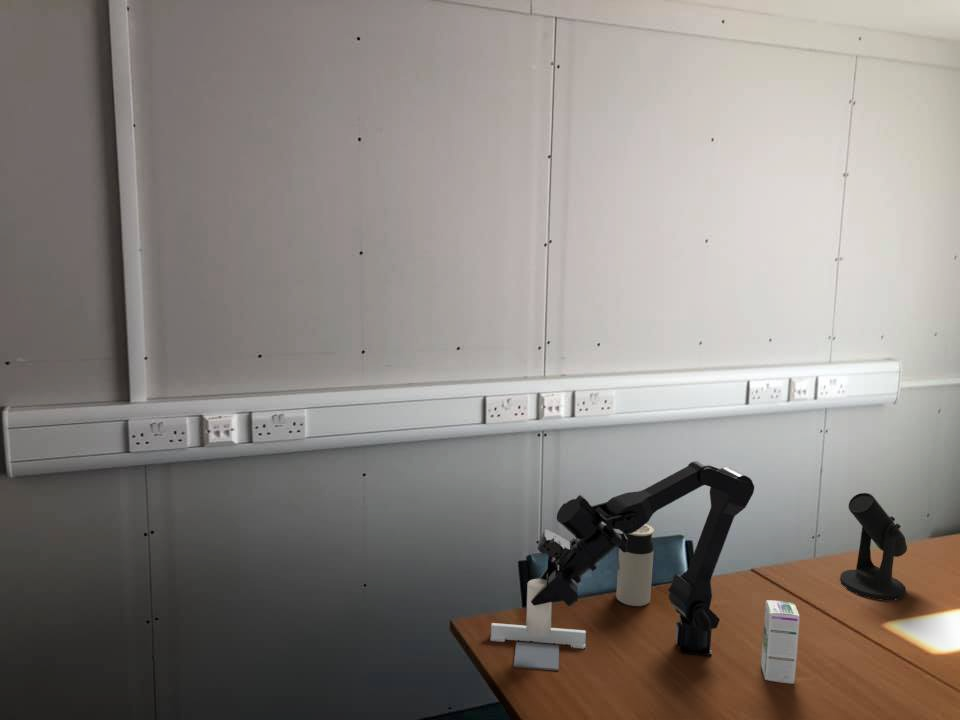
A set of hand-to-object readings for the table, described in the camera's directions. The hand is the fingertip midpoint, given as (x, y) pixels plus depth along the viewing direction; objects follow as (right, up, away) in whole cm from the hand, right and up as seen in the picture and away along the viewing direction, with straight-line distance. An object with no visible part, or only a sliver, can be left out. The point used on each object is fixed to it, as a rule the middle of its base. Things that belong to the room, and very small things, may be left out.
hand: (532, 597), depth 156 cm
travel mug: (+26, -9, +28) cm, 39 cm away
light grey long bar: (+2, -12, +8) cm, 14 cm away
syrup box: (+49, -15, -2) cm, 51 cm away
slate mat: (+1, -13, +2) cm, 13 cm away
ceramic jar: (+1, -7, +1) cm, 7 cm away
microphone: (+88, -10, +39) cm, 97 cm away
